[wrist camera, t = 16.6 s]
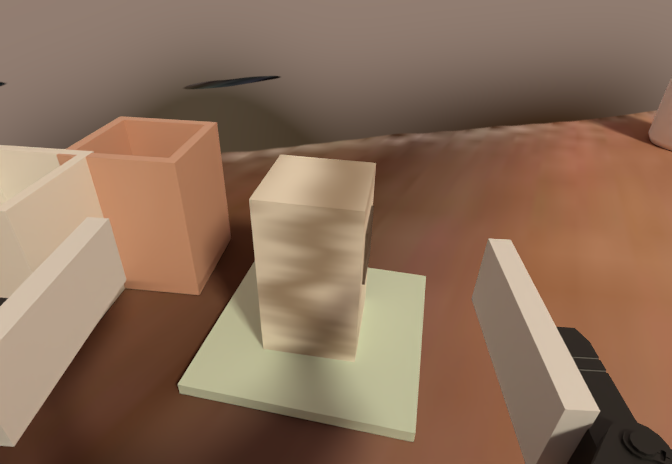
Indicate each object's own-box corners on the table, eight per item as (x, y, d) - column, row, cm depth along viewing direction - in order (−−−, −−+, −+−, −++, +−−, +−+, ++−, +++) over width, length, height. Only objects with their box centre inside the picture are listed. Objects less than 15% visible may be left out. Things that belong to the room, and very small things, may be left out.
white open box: (-44, 345, 29) (-137, 200, 23) (37, 271, 36) (-19, 143, 30) (70, 357, 29) (5, 211, 23) (131, 280, 35) (93, 151, 29)
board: (179, 393, 27) (177, 384, 26) (261, 259, 38) (260, 251, 38) (413, 441, 24) (415, 433, 24) (424, 284, 36) (425, 276, 35)
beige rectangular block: (263, 348, 29) (249, 199, 23) (287, 288, 34) (281, 153, 28) (357, 362, 28) (368, 211, 22) (367, 298, 33) (378, 162, 27)
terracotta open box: (100, 286, 35) (56, 154, 29) (148, 231, 41) (119, 116, 35) (199, 295, 34) (174, 162, 28) (231, 238, 41) (216, 122, 35)
